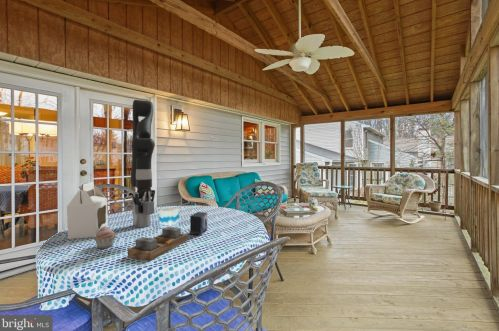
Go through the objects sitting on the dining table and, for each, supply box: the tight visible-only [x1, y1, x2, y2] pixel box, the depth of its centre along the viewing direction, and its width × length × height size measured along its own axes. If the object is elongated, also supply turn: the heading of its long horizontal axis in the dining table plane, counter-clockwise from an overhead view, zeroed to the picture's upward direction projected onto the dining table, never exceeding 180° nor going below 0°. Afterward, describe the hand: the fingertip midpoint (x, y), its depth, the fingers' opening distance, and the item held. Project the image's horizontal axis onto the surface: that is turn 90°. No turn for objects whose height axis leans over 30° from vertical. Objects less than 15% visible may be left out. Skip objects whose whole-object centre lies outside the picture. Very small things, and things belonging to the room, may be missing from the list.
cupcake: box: [93, 226, 117, 249], centre depth 126 cm, size 9×9×10 cm
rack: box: [127, 226, 188, 262], centre depth 123 cm, size 12×26×7 cm, turn 159°
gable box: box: [66, 181, 109, 240], centre depth 148 cm, size 22×13×28 cm, turn 13°
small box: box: [189, 211, 208, 236], centre depth 148 cm, size 11×6×10 cm, turn 168°
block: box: [135, 200, 155, 216], centre depth 133 cm, size 8×4×6 cm, turn 69°
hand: (144, 211), depth 133 cm, fingers closed on block, 4 cm apart
